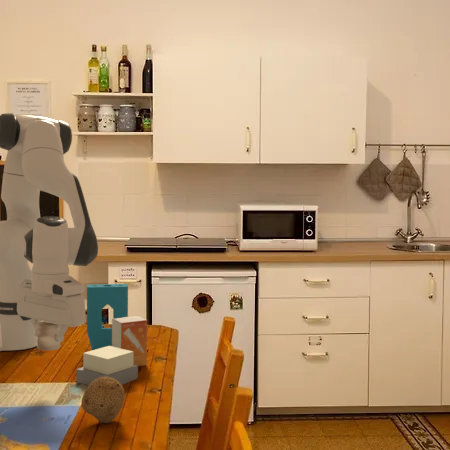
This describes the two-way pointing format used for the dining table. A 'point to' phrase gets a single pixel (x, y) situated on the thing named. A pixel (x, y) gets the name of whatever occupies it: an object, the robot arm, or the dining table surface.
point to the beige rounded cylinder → (47, 336)
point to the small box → (131, 337)
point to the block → (95, 303)
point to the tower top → (108, 360)
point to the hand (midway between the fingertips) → (49, 338)
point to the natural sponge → (103, 399)
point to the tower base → (121, 376)
